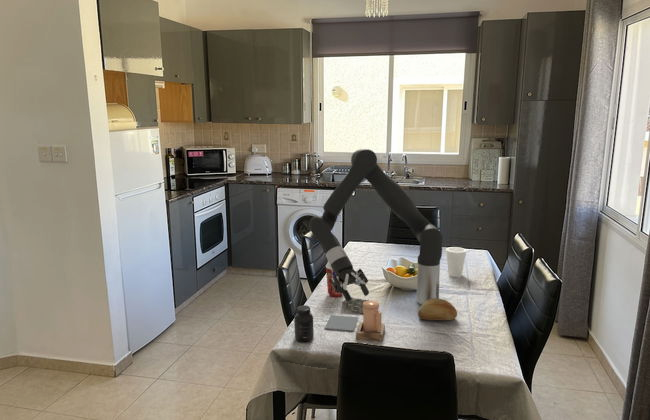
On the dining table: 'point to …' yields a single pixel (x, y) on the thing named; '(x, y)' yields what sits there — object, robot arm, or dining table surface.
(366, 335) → the walnut collar
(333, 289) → the smoothie
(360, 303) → the egg carton
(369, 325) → the peach column
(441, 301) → the bread roll
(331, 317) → the slate mat
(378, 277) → the dining table surface
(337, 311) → the dining table surface
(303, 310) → the supplement bottle
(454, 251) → the foam cup
